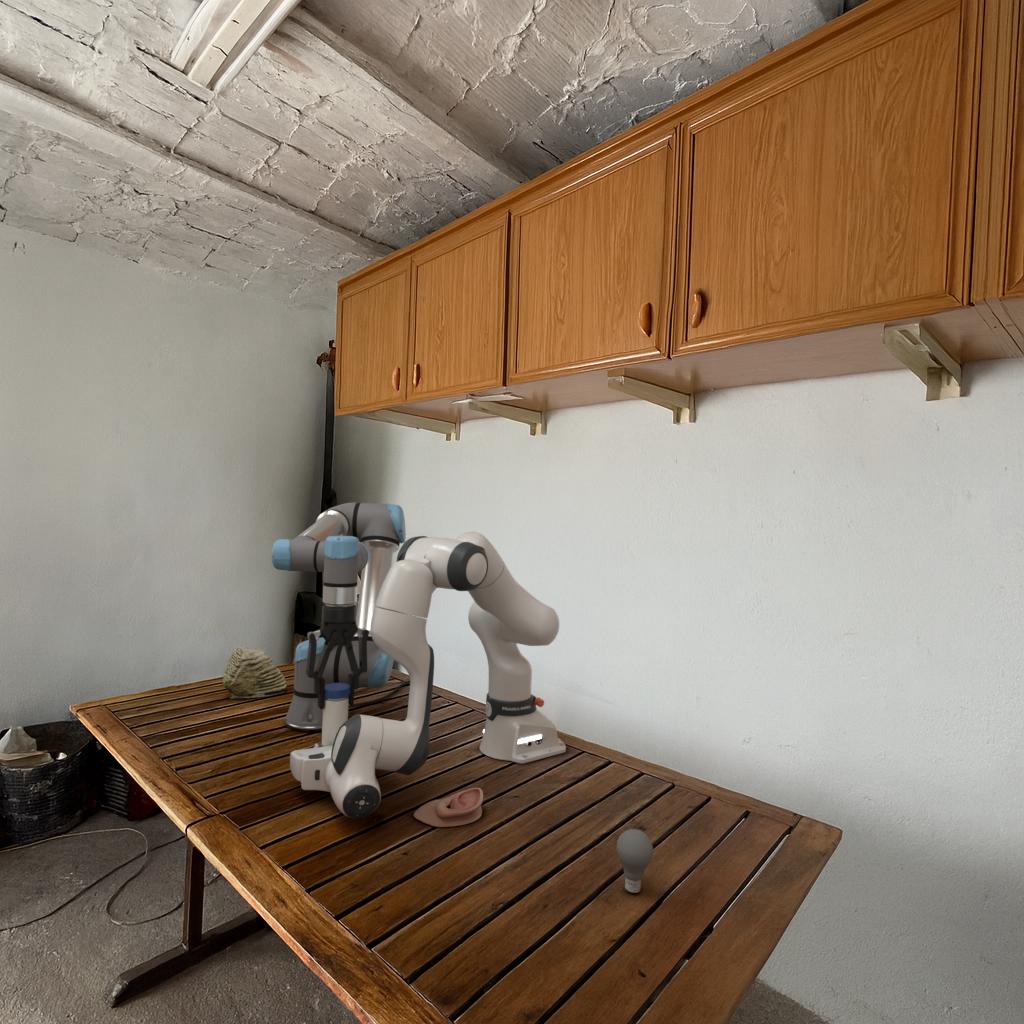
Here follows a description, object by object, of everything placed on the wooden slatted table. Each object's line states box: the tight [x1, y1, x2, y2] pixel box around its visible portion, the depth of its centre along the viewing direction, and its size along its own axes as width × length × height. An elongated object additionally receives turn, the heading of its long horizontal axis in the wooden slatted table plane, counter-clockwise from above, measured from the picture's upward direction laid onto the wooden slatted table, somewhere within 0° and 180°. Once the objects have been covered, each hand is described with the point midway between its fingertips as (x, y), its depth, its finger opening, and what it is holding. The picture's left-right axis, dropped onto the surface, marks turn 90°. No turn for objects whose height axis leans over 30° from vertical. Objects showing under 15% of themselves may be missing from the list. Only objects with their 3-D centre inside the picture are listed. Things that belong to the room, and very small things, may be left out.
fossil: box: [222, 646, 288, 699], centre depth 198 cm, size 9×18×15 cm, turn 132°
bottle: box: [321, 697, 349, 747], centre depth 144 cm, size 6×6×19 cm
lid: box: [324, 683, 350, 699], centre depth 144 cm, size 6×6×2 cm
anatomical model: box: [413, 787, 484, 828], centre depth 129 cm, size 13×4×12 cm
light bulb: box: [615, 828, 654, 894], centre depth 106 cm, size 6×6×10 cm
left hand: (335, 705), depth 144 cm, fingers closed on lid, 6 cm apart
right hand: (333, 744), depth 145 cm, fingers closed on bottle, 5 cm apart
